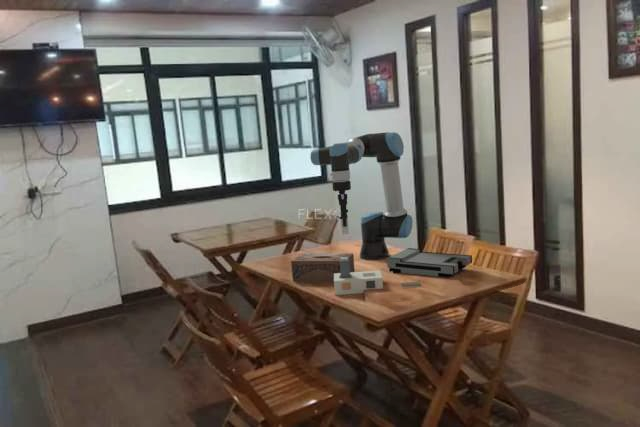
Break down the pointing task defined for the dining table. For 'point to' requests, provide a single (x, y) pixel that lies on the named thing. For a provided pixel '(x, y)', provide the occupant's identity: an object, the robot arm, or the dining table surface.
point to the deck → (411, 284)
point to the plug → (344, 267)
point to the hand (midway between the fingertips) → (345, 230)
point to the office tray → (427, 263)
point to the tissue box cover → (318, 266)
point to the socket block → (357, 282)
